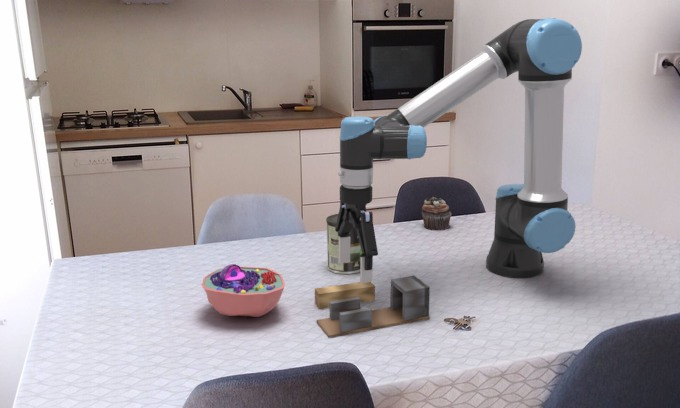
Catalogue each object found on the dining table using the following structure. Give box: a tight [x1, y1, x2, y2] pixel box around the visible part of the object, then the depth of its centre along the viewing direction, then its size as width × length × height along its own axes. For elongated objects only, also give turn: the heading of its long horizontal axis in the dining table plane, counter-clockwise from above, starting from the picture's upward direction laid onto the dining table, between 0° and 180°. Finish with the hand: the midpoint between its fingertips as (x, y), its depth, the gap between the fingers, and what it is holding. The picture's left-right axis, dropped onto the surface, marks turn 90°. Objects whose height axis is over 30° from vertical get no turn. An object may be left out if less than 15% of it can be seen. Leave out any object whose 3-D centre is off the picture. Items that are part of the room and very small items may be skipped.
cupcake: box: [421, 195, 452, 231], centre depth 208 cm, size 10×10×10 cm
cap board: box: [316, 275, 430, 339], centre depth 142 cm, size 24×8×8 cm, turn 111°
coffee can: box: [325, 213, 362, 275], centre depth 173 cm, size 10×10×14 cm
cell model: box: [201, 263, 286, 318], centre depth 146 cm, size 17×20×11 cm
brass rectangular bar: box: [314, 281, 376, 310], centre depth 152 cm, size 14×4×4 cm, turn 109°
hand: (354, 271), depth 152 cm, fingers open, 13 cm apart
